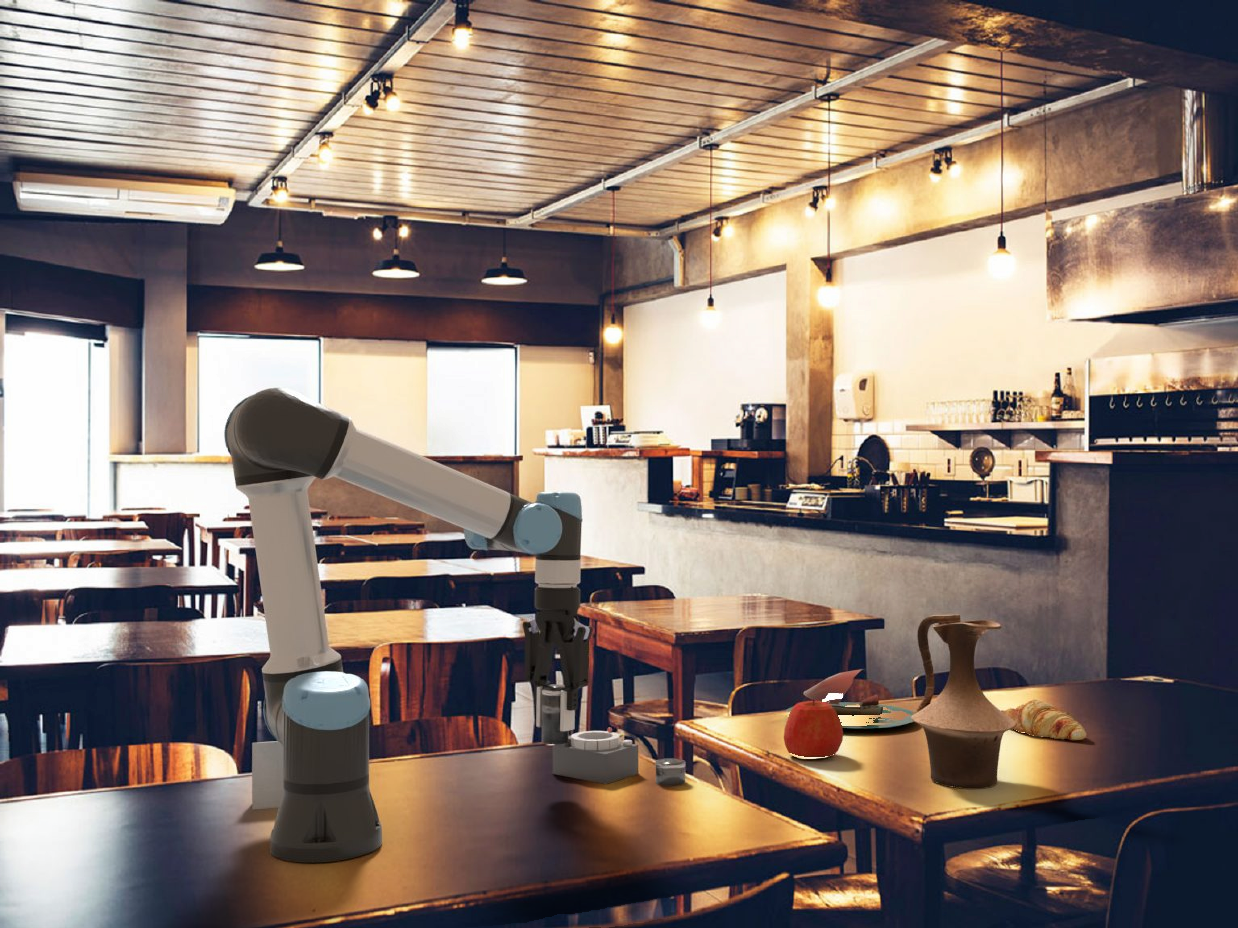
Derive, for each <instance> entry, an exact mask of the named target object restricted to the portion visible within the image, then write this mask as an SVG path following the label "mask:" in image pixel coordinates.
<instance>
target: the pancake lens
mask: <svg viewBox="0 0 1238 928" xmlns="http://www.w3.org/2000/svg"><path fill="white" fill-rule="evenodd" d="M654 764H655V783H656V785H659V786H662V787H678V786H684V785H685V784H686V761H685V760H683V759H679V758H661V759H657V760H655V761H654Z"/></svg>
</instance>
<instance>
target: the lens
mask: <svg viewBox="0 0 1238 928" xmlns="http://www.w3.org/2000/svg"><path fill="white" fill-rule="evenodd" d="M562 688H565V685H564V684H556V683H555V684H553V683H552V684H546V685H544V686H543V688H542V694H543V696H542V727H541V743H542V744H546V745H555V744H565V743H568V740H569V736H570V734H569V733H570V730H568V731H560V708H561V690H562Z"/></svg>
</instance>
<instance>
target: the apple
mask: <svg viewBox="0 0 1238 928" xmlns="http://www.w3.org/2000/svg"><path fill="white" fill-rule="evenodd" d="M792 707H793V708H792V710H791V712H790V714H789V717H787V720H786V723H785V726H784V732H783V741H784V746H785V748H786V751H787V752H788V753H792V754H795V755H798V756H804V757H825V756H830V755H833V754H834V755H836V754H837V753H838V751H839V749H840V747H841V745H842V743H843V740H844V738H843V737H844V731H843V727H842V725H841V722H840V719H839V717H838V715H837V713H836V711H835V710H834V708H833V707H832V706H831V705H830V704H829V703H827V702H823V701H815V700H814V699H813V700H805V702H803V701H802V702H797V703H796V704H795V705H793V706H792ZM834 755H833V756H834ZM830 757H831V756H830Z"/></svg>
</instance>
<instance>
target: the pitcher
mask: <svg viewBox="0 0 1238 928" xmlns="http://www.w3.org/2000/svg"><path fill="white" fill-rule="evenodd" d="M932 625H933V626H932ZM931 626H932V628H933V630H934V631H935V633H937V635H938V636H939V638H940V639H941V640H942V642H944V643H946V644H947V646H948V650H949V673H948V678H947V681H946V684H945V686H944V687H943V689H942V690H941V692H940V693H939V695H937V697H936V698H935V699H934V700H933V701H932V699H933V696H934V693H935V675H934V667H933V661H932V656H931V651H930V646H929V636H928V635H929V634H928V633H929V629H930V627H931ZM1000 629H1002V626H1001V624H1000V623H999V622H996V621H994V620H987V619H974V620H965V621H964V620H963V621H961V615H960V614H959V613H958V614H957V613H956V614H933V615H930V616H927V617H924V619H922V620H921V621H920V623H919V625H918V629H917V645H918V649H919V652H920V656H921V659H922V665H923V670H924V674H925V684H926V685H925V686H926V687H925V692H924V696H923V698H922V700H921V702H920V703H919V705H918V707H917V708H916V709H915V711H913V712H914V714H913V715H912V716H911V720H913V721H914V723H916V724H917V725H920V727H922V729H923V731H924V734H925V735H924V736H925V737H926V742H927V743H926V744H927V750H928V756H929V766H930V779H931V780H932V782H935V783H936V782H938V783H937V784H939V783H940V784H939V785H942V784H943V786H945V785H947V786H946V787H950V786H953V787H952V788H956V787H957V789H965V790H966V789H968V790H977V789H978V790H980V789H988V788H991V787H994V786H996V785H997V784H998V772H999V771H998V769H999V760H1000V751H1001V745H1002V739H1003V736H1004V733H1006V732H1008V731H1012V730H1011V729H1013V728H1014V727H1016V722H1015V721H1014V720H1013V719H1011V718H1010V717H1008V716H1007V715H1006V714H1004V713H1003V712H1002V711H1001V710H1000V709H999V708H998V707H996V705H995V704H993V703H992V702H991V701H990V699H988V698H987V697H986V695H985V694H984V692H983V690H982V688H981V686H980V685H979V681H978V679H977V676H976V670H975V654H976V653H975V651H976V647H977V643H978V641H979V639H980V637H981V636H983V635H985V633H987V632H988V631H990V630H991V631H992V630H1000Z"/></svg>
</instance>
